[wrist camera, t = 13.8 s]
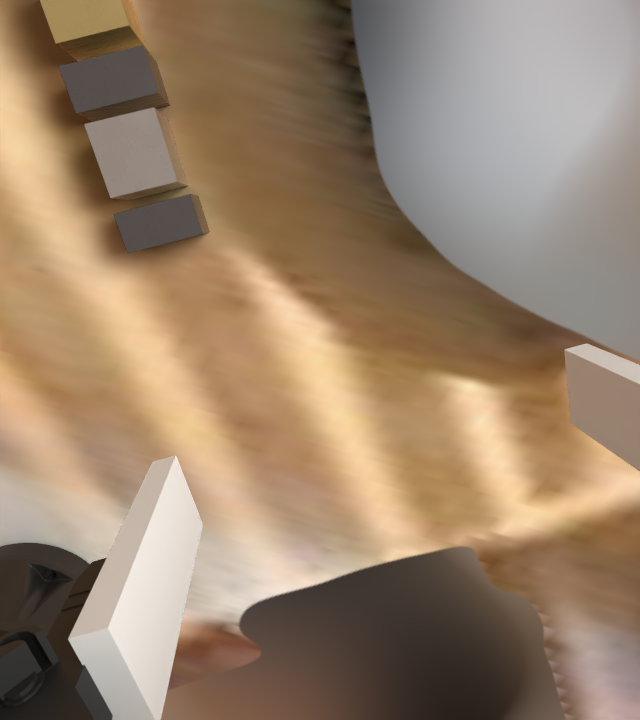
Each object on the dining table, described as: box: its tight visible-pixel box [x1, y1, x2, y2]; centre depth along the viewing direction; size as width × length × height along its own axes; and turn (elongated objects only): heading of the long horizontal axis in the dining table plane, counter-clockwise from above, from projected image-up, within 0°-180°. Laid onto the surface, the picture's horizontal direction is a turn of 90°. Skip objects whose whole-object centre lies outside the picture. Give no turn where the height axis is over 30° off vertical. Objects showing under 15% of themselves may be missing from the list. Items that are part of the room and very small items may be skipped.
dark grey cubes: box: [58, 45, 209, 253], centre depth 35 cm, size 6×23×4 cm, turn 14°
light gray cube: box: [84, 107, 188, 200], centre depth 36 cm, size 5×5×5 cm
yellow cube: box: [40, 0, 147, 61], centre depth 33 cm, size 5×5×5 cm
